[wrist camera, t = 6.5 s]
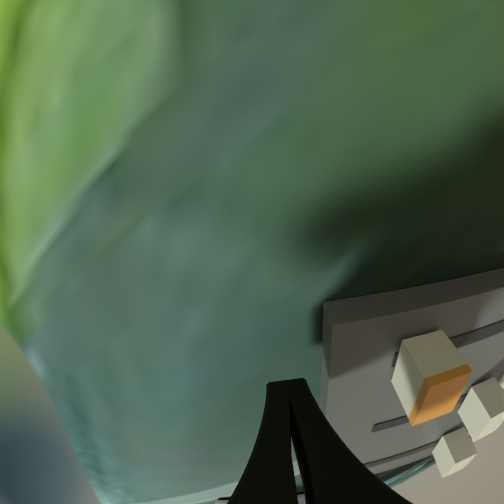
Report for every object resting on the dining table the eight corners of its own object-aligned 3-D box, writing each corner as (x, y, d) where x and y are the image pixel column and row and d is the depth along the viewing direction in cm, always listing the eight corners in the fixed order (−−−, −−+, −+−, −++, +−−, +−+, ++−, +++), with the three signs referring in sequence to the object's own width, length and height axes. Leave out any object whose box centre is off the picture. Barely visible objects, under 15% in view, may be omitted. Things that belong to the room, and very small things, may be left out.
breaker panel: (312, 471, 18) (320, 518, 14) (323, 301, 12) (354, 383, 8) (467, 424, 18) (485, 460, 14) (541, 257, 12) (588, 294, 8)
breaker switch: (391, 381, 12) (411, 426, 9) (402, 339, 11) (429, 386, 8) (428, 370, 12) (451, 411, 9) (442, 329, 11) (472, 371, 8)
